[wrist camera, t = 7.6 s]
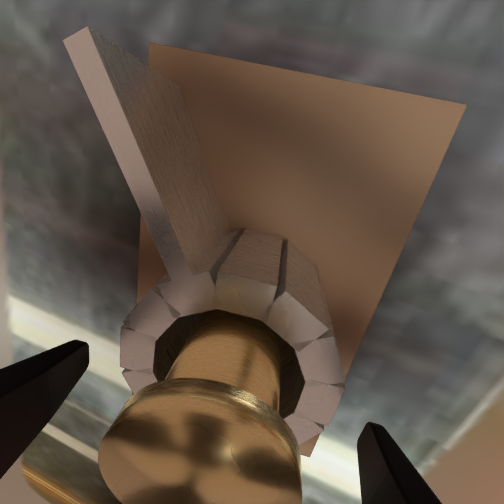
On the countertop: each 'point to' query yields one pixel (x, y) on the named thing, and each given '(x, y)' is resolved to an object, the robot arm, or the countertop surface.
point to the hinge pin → (208, 424)
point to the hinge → (203, 243)
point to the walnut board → (312, 171)
